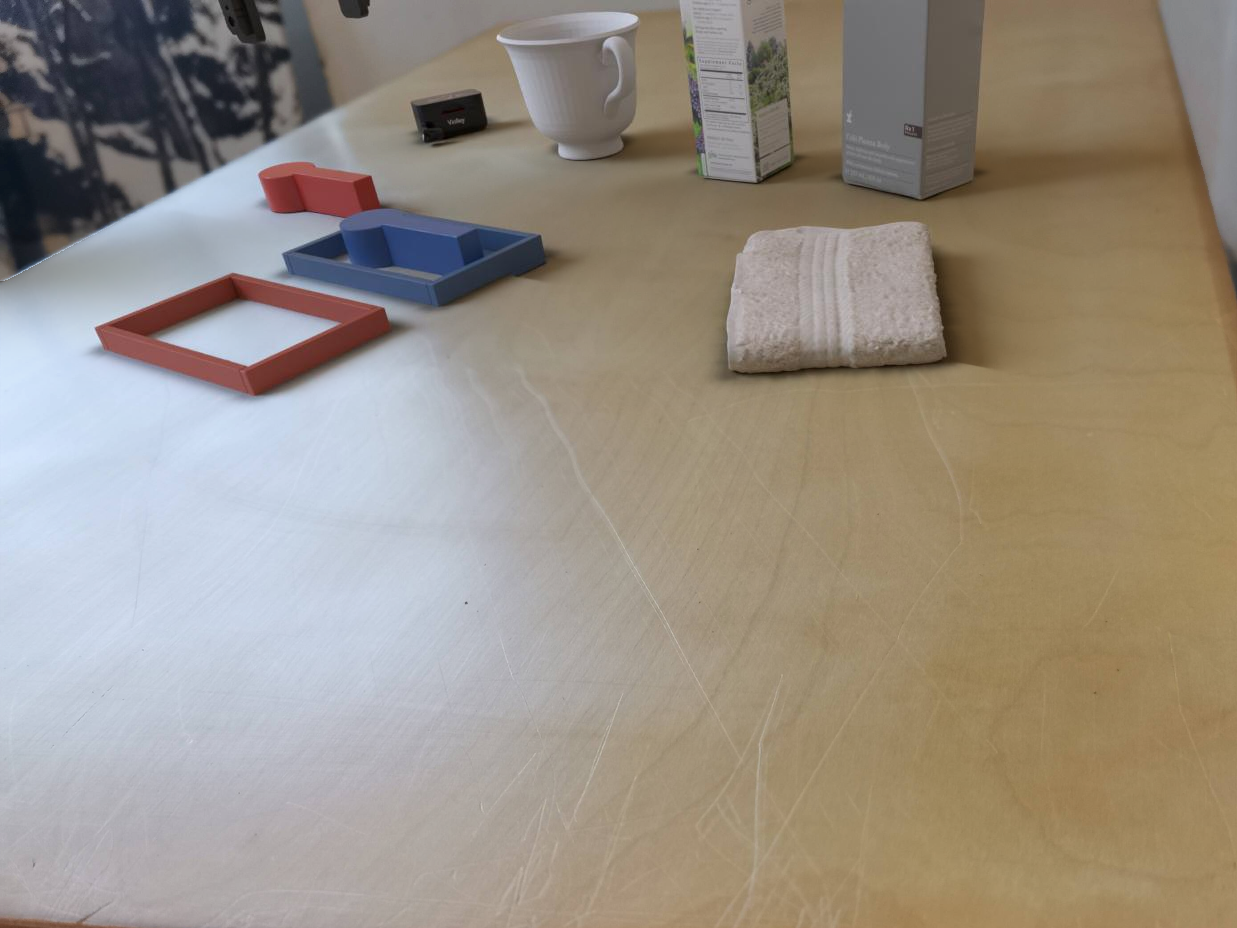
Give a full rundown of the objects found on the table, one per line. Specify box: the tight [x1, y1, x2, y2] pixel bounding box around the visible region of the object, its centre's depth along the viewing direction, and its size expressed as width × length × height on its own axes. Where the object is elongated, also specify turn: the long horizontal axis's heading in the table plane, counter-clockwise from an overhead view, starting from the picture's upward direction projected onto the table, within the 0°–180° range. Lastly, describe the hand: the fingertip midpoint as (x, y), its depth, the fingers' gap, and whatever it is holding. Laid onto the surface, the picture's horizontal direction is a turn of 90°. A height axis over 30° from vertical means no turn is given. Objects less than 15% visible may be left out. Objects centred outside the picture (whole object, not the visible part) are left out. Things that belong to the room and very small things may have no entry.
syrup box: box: [678, 0, 795, 184], centre depth 87 cm, size 6×6×14 cm
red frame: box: [94, 272, 392, 397], centre depth 69 cm, size 15×10×2 cm, turn 57°
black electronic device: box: [410, 88, 489, 144], centre depth 107 cm, size 5×7×3 cm, turn 123°
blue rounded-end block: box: [338, 208, 484, 277], centre depth 77 cm, size 12×4×3 cm, turn 57°
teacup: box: [496, 11, 642, 161], centre depth 96 cm, size 12×15×10 cm
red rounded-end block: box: [258, 161, 382, 218], centre depth 91 cm, size 12×4×3 cm, turn 57°
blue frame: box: [281, 211, 547, 308], centre depth 77 cm, size 15×10×2 cm, turn 57°
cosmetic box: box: [841, 0, 986, 200], centre depth 81 cm, size 8×7×16 cm
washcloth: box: [725, 221, 947, 374], centre depth 66 cm, size 12×18×3 cm, turn 179°
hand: (306, 29), depth 78 cm, fingers open, 8 cm apart
